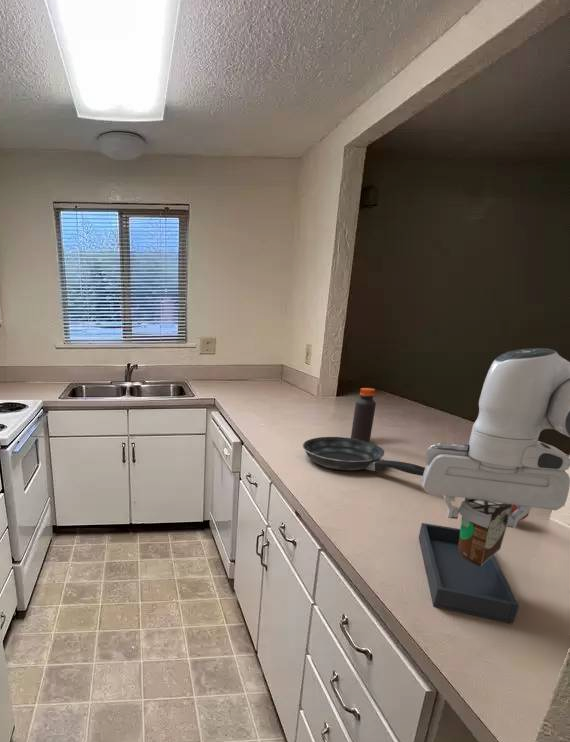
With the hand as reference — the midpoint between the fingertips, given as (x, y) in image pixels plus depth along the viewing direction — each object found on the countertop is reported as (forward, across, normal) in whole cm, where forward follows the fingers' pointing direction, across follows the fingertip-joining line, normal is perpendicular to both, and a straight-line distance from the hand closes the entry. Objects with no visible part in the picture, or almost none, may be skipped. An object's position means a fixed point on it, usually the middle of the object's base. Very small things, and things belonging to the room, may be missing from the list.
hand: (480, 521), depth 77 cm
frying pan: (+14, -19, +58) cm, 63 cm away
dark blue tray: (+14, 0, +4) cm, 14 cm away
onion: (+14, +15, +33) cm, 39 cm away
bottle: (+14, -19, +88) cm, 91 cm away
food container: (+6, 0, 0) cm, 6 cm away
